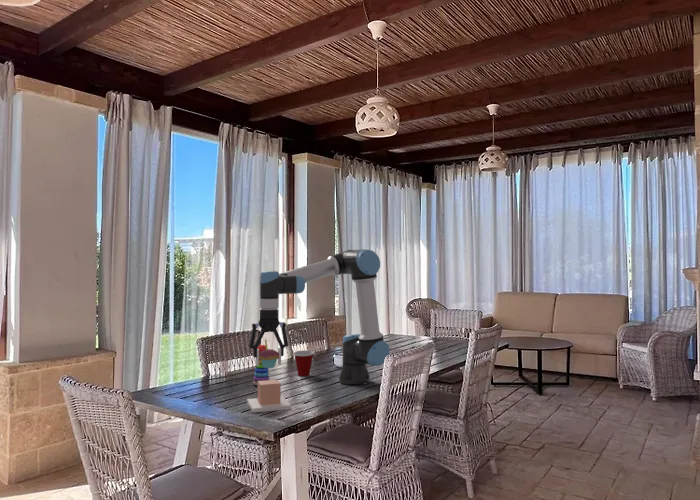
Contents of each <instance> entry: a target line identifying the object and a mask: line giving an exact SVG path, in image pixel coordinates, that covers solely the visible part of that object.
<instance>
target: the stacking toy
mask: <svg viewBox="0 0 700 500" xmlns="http://www.w3.org/2000/svg"><path fill="white" fill-rule="evenodd" d="M257 349H259V353H260V352H261V351H263V350H266V346H265V344H259V346H258V348H257ZM269 369H270V368H263V366H262V363H261V360H260V359H259V366H256V365H255V368H254V373H253V374H254V375H253V378H252V380H253V381H252V384H253V385H254V386H257V387H258V381H266V380H270V376H269V375H270V372H269Z"/></svg>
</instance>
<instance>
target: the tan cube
mask: <svg viewBox="0 0 700 500" xmlns="http://www.w3.org/2000/svg"><path fill="white" fill-rule="evenodd" d="M280 396H281V382H280V380H278V379H269V380H266V381H258V386H257V398H258V402H259V404H260V405H268V404H279V403H280Z"/></svg>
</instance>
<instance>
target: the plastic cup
mask: <svg viewBox="0 0 700 500" xmlns="http://www.w3.org/2000/svg"><path fill="white" fill-rule="evenodd" d="M314 354H315V352H314V350H307V349H305V350H298V351H294V352H293V356H294V359H295V364H296V365H295V366H296V369H297V371H296V372H297V375H298V376H299V377H309V376H310V374H311V368H312V364H313V363H312V362H313V357H314Z"/></svg>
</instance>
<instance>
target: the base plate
mask: <svg viewBox="0 0 700 500" xmlns="http://www.w3.org/2000/svg"><path fill="white" fill-rule="evenodd" d="M246 403H247V404H248V406H249V409H250V410H251V413H264V412H272V411H284V410H292V409H291V408H292V405H291V403H290V402H289V401H288V400H287V399H286V398H285V397H284V396H283V395H280V403H279V404H268V405H260V404H259V402H258V397H257V398H256V397H255V398H254V397H253V398H247V399H246Z"/></svg>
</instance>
